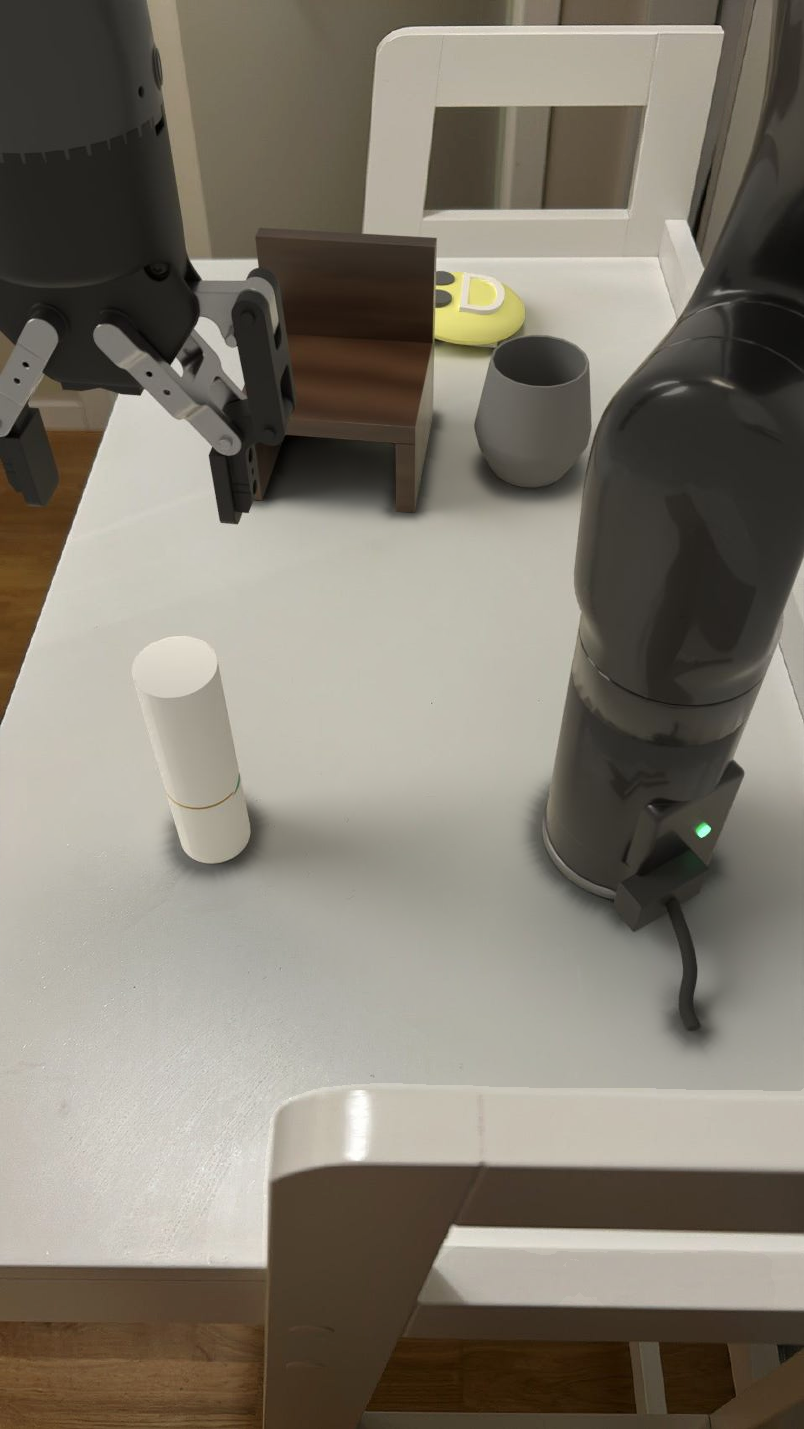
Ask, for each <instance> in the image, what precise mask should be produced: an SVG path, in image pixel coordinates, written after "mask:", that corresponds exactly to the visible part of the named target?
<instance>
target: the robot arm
mask: <svg viewBox="0 0 804 1429" xmlns="http://www.w3.org/2000/svg"><path fill="white" fill-rule="evenodd" d="M770 2H771V3H770V15H769V16H770V17H769V31H768V45H767V58H766V66H765V67H766V68H765V76H764V77H765V78H764V88H763V95H762V100H761V106H760V114H759V119H758V123H757V126H756V131H755V133H754V138H753V141H752V146H751V149H750V151H749V155H748V158H747V161H746V164H745V167H744V170H743V173H742V176H741V179H740V182H739V183H738V184H739V185H738V187H737V189H736V192H735V194H734V197H733V200H732V202H731V205H730V208H729V210H728V213H727V216H726V218H725V220H724V223H723V226H722V227H721V230H720V233H719V235H718V238H717V240H716V242H715V245H714V247H713V249H712V252H711V253H710V256H709V259H708V260H707V263H706V265H705V267H704V269H703V271H702V274H701V275H700V278H699V280H698V282H697V284H696V286H695V288H694V291H693V293H692V294H691V296H690V298H689V300H688V301H687V303H686V305H685V307H684V309H683V310H682V312H681V313H680V315H679V317H678V318H677V320H676V321H675V323H674V324H673V325H672V327H671V328H670V329H669V330H668V331H667V333H666V334H665V335H664V336H663V338H662V339H661V340H660V341H659V342H658V343H657V345H655V347H654V348H653V349H652V350H651V351H650V353H649V354H648V355H647V356H646V358H645V359H644V360H643V361H642V362H641V363H640V364H639V365H638V367H637V368H636V369H635V370H634V371H633V372H632V373H631V374H630V375H629V377H628V378H627V379H626V381H625V382H624V383H623V384H622V385H621V386H620V387H619V389H618V390H617V391H616V392H615V393H614V394H613V396H612V397H611V399H610V400H609V401H608V404H607V405H606V406H605V408H604V410H603V412H602V414H601V417H600V419H599V422H598V424H597V426H596V429H595V432H594V435H593V438H592V442H591V447H590V450H589V455H588V460H587V464H586V470H585V476H584V482H583V490H582V496H581V506H580V515H579V523H578V532H577V541H576V551H575V558H574V569H573V588H574V594H575V599H576V603H577V605H578V608H579V610H580V617H579V622H578V628H577V633H576V634H577V635H576V641H575V646H574V652H573V657H572V662H571V666H570V667H571V668H570V672H569V678H568V685H567V691H566V695H565V700H564V707H563V712H562V718H561V723H560V730H559V735H558V741H557V746H556V751H555V752H556V753H555V757H554V764H553V768H552V774H551V779H550V780H551V781H550V788H549V794H548V799H547V801H546V803H545V808H544V812H543V818H542V823H541V824H542V828H541V830H542V840H543V842H544V846H545V849H546V851H547V854H548V855H549V858H550V859H551V861H552V862H553V864H554V865H555V866H556V868H557V869H558V870H559V871H560V872H561V873H562V874H563V875H564V876H565V877H566V879H568V880H569V881H571V882H572V883H574V884H575V885H577V886H578V887H580V888H581V889H582V890H585V891H587V892H589V893H591V894H594V895H597V896H599V897H602V898H605V899H610V900H613V903H612V906H611V907H612V909H613V910H614V911H615V912H616V914H617V915H618V916H619V917H620V918H621V920H622V921H623V922H624V923H625V924H626V925H627V927H628V928H629V929H630V930H631V932H632V933H636V932H637V931H639V930H641V929H642V928H644V927H646V926H648V925H649V924H650V923H651V924H652V923H653V922H654V921H656V920H657V919H659V918H661V917H662V916H665V915H666V914H667V915H668V916H669V920H670V923H671V925H672V928H673V932H674V935H675V937H676V939H677V944H678V947H679V951H680V957H681V964H682V977H681V982H680V988H679V992H678V993H679V994H678V1007H679V1013H680V1016H681V1019H682V1021H683V1024H684V1026H685V1028H686V1031H687V1032H695V1031H697V1030H699V1029H701V1027H702V1025H701V1023H700V1020H699V1018H698V1016H697V1014H696V1011H695V1005H694V997H695V991H696V987H697V981H698V961H697V954H696V949H695V945H694V941H693V938H692V935H691V932H690V929H689V926H688V923H687V921H686V917H685V914H684V912H683V910H682V904H684V903H686V902H688V901H689V900H690V899H693V898H694V897H696V896H698V895H700V893H701V891H702V888H703V886H704V884H705V881H706V878H707V876H708V873H709V871H710V867H709V863H710V861H711V858H712V856H713V854H714V852H715V849H716V846H717V844H718V842H719V839H720V837H721V834H722V831H723V829H724V827H725V825H726V822H727V820H728V817H729V814H730V812H731V809H732V807H733V804H734V802H735V800H736V797H737V795H738V793H739V790H740V788H741V785H742V782H743V780H744V778H745V775H746V774H745V770H744V768H743V767H742V766H741V765H740V764H739V763H738V762H737V761H736V760H735V759H734V757H735V755H736V753H737V751H738V750H737V749H738V747H739V744H740V741H741V739H742V737H743V734H744V732H745V728H746V727H747V724H748V721H749V718H750V716H751V713H752V710H753V708H754V706H755V703H756V701H757V698H758V695H759V694H760V690H761V687H762V685H763V682H764V680H765V678H766V675H767V672H768V669H769V667H770V665H771V662H772V659H773V657H774V656H775V652H776V649H777V647H778V645H779V643H780V640H781V636H782V633H783V629H784V621H785V620H784V612H785V609H786V606H787V603H788V601H789V598H790V595H791V593H792V590H793V589H794V585H795V582H796V579H797V577H798V574H799V571H800V570H801V569H800V568H801V565H802V563H803V561H804V0H771V1H770ZM152 27H153V26H152V21H151V16H150V10H149V5H148V0H0V332H1V333H2V335H3V336H5V337H6V338H7V340H9V342H11V343H12V345H13V346H14V348H12V349H13V350H12V352H11V353H10V356H9V357H8V359H7V361H6V363H5V364H4V367H3V368H2V371H1V373H0V462H1V464H2V467H3V470H4V474H5V476H6V479H7V481H8V484H9V485H10V487H12V489H13V490H14V492H16V493H17V494H21V495H22V497H23V499H24V502H25V504H26V505H27V506H29V507H39V508H40V507H42V508H45V507H47V506H48V504H49V502H50V501H51V499H52V497H53V495H54V493H55V492H56V490H57V488H58V486H59V482H60V474H59V470H58V467H57V464H56V461H55V460H56V459H55V457H54V453H53V451H52V447H51V444H50V441H49V436H48V434H47V430H46V427H45V424H44V420H43V417H42V415H41V410H40V408H39V407H32V406H31V407H30V406H29V403H30V401H31V399H32V397H33V396H34V393H35V392H36V390H37V389H38V386H39V385H40V383H41V381H42V379H43V378H44V376H46V377H48V378H49V379H50V380H52V381H55V382H57V383H59V384H60V385H61V389H62V391H74V392H84V391H90V390H96V389H103V390H106V391H109V392H112V393H116V394H118V395H125V396H126V395H127V396H137V397H138V396H139V397H140V396H142V394H143V393H144V391H146V392H148V393H149V394H150V395H151V397H153V399H155V401H156V402H157V403H158V404H159V405H160V406H161V407H162V408H163V410H165V412H167V413H168V414H169V415H170V416H171V417H172V418H173V419H175V420H178V421H181V420H185V421H187V422H188V423H189V424H190V425H191V427H193V428H194V430H196V432H198V434H199V435H200V436H201V437H202V438H203V439H204V440H205V441H206V442H207V443H208V444H209V445H210V446H211V449H210V450H209V452H208V453H209V454H208V461H209V466H210V472H211V478H212V484H213V490H214V496H215V503H216V508H217V513H218V519H219V522H220V523H221V524H225V525H226V524H228V525H239V523H240V522H241V518H242V515H243V514H249V513H250V511H251V508H252V505H253V502H254V501H255V500H254V497H255V494H256V491H257V489H258V486H259V478H258V470H257V462H256V454H255V446H254V444H255V443H259V442H261V443H263V444H265V445H268V446H276V445H279V444H280V443H281V442H282V443H283V442H284V440H285V437H286V435H285V434H286V431H287V425H288V422H289V419H290V416H291V414H292V413H293V411H294V408H295V406H296V403H297V397H296V391H295V384H294V378H293V371H292V365H291V358H290V352H289V345H288V339H287V333H286V326H285V320H284V313H283V307H282V300H281V294H280V287H279V282H278V279H277V277H276V276H275V275H274V273H273V272H271V271H270V270H268V269H265V268H259V267H256V268H253V269H252V270H250V271H249V273H248V275H247V276H246V279H245V280H203V279H202V277H201V275H200V274H199V272H198V271H197V270H196V269H195V267H194V265H193V264H192V262H191V259H190V257H189V255H188V251H187V247H186V240H185V229H184V221H183V214H182V210H181V202H180V196H179V195H180V194H179V188H178V183H177V178H176V177H177V176H176V171H175V165H174V159H173V158H174V157H173V153H172V152H173V151H172V147H171V146H172V145H171V140H170V134H169V127H168V121H167V114H166V109H165V102H164V95H163V89H162V86H163V84H164V78H163V68H162V59H161V55H160V50H159V48H158V47H157V45H156V43H155V39H154V33H153V32H154V31H153V28H152ZM200 318H206V319H208V320H209V321H211V322H213V323H214V324H215V325H216V326H217V328H218V330H219V333H220V335H221V338H223V340H224V343H225V345H226V346H227V347H229V348H232V349H234V348H237V352H238V357H239V362H240V369H241V372H242V378H243V383H244V384H245V388H246V393H247V397H246V395H245V394H244V393H243V392H242V389H240V388H239V387H238V385H237V384H236V383H235V382H234V381H233V380H232V379H231V377H230V376H228V374H226V372H225V371H224V369H223V367H222V362H221V358H220V357H219V355H218V353H217V352H216V351H215V350H214V349H213V348H212V347H211V346H210V345H209V343H208V342H206V340H205V339H204V338H203V337H202V336H201V335H200V334H199V333H198V331H197V330H196V329H195V328H196V326H197V325H198V322H199V319H200ZM175 359H177V361H178V362H179V363H180V365H181V368H182V375H180V374H179V373H178V372H177V371H176V370H175V369H174V368H173V367H172V364H173V363H174V361H175Z"/></svg>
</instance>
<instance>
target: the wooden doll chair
mask: <svg viewBox="0 0 804 1429" xmlns="http://www.w3.org/2000/svg"><path fill="white" fill-rule="evenodd" d="M254 241H255V250H256V257H257V258H256V259H257V268H265V269H268V270H270V271H271V272H273V273H274V275H275V276H276V277H277V279H278V282H279V287H280V294H281V300H282V307H283V313H284V320H285V326H286V333H287V339H288V345H289V352H290V358H291V365H292V371H293V378H294V384H295V391H296V397H297V403H296V406H295V408H294V411H293V413H292V414H291V416H290V419H289V422H288V425H287V431H286V434H285V436H296V437H297V436H298V437H299V436H300V437H309V438H311V437H313V438H324V439H325V438H327V439H338V440H351V441H364V442H365V441H366V442H377V443H378V442H380V443H394V444H395V511H396V512H401V513H402V512H403V513H415V512H416V506H417V502H418V497H419V492H420V486H421V480H422V475H423V471H424V465H425V461H426V460H425V459H426V454H427V448H428V445H429V439H430V435H431V434H430V433H431V430H432V425H433V424H432V423H433V418H434V384H435V383H434V381H435V380H434V379H435V343H436V342H435V340H436V339H435V298H436V271H437V249H438V247H437V245H438V238H437V237H430V236H429V237H428V236H414V235H413V236H412V235H395V234H376V233H375V234H374V233H357V232H343V231H342V232H341V231H326V230H325V231H323V230H305V229H289V228H288V229H287V228H271V227H258V229H257V232H256V233H255V236H254ZM241 391H242V392H243V393H244V394H245V395H246V397H247V393H246V388H245V383H244V384H243V386H242V389H241ZM282 444H283V441H282V442H281V443H280V444H279V445H276V446H268V445H265V444H263V443H261V442H259V443H255V444H254V446H255V454H256V462H257V470H258V478H259V486H258V489H257V491H256V494H255V497H254V500H253V501H263V499H264V496H265V494H266V491H267V487H268V485H269V481H270V479H271V476H272V473H273V470H274V468H275V465H276V462H277V460H278V459H277V458H278V456H279V453H280V449H281V447H282Z"/></svg>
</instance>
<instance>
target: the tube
mask: <svg viewBox="0 0 804 1429" xmlns="http://www.w3.org/2000/svg"><path fill="white" fill-rule="evenodd" d="M219 666H220V665H219V661H218V657H217V653H216V651H215V650H214V649H213V647H212V646H211V645H210V644H208V642H206V641H204V640H201V639H199V638H197V637H193V636H189V635H174V636H168V637H163V638H161V639H157V640H156V641H153V642H151V643H150V644H148V645H146V646H145V647H144V648H142V650H140V652H138V654H137V655H136V656H135V658H134V660H133V663H132V666H131V676H132V680H133V684H134V688H135V690H136V694H137V696H138V700H139V704H140V708H141V711H142V714H143V717H144V721H145V725H146V729H147V732H148V735H149V739H150V743H151V746H152V749H153V752H154V757H155V760H156V763H157V766H158V770H159V773H160V777H161V780H162V783H163V787H164V790H165V794H166V798H167V800H168V803H169V808H170V811H171V814H172V817H173V821H174V824H175V829H176V831H177V835H178V838H179V841H180V842H179V843H180V845H181V848H182V849H183V851H184V853H186V855H187V856H188V857H190V859H192V860H195V861H197V862H199V863H203V864H220V863H224V862H227V861H229V860H231V859H234V858H235V857H237V856H238V855H239V854H240V853H241V852H243V850H244V849H245V848H246V846H247V845H248V843H249V841H250V838H251V833H252V832H251V822H250V819H249V813H248V808H247V803H246V799H245V798H246V797H245V792H244V787H243V783H242V778H241V773H240V767H239V763H238V756H237V753H236V748H235V742H234V737H233V732H232V728H231V720H230V716H229V711H228V707H227V701H226V695H225V691H224V686H223V681H222V675H221V671H220V667H219Z"/></svg>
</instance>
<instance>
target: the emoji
mask: <svg viewBox="0 0 804 1429" xmlns="http://www.w3.org/2000/svg"><path fill="white" fill-rule="evenodd" d="M525 319H526V307H525V305H524V302H523V300H522V299H521V297H520V296H519V295H518V294H517V293H516V292H515V291H514V289H512V288H511V287H509V286H508V285H507V284H504V283H503V282H501V281H499V280H498V279H496V278H494V277H492V276H488V275H484V274H479V273H473V272H466V271H445V270H436V298H435V340H439V341H443V342H446V343H450V344H455V345H465V346H468V347H469V346H470V347H477V348H491V349H493V348H494V349H495V348H496V347H498V343H499V342H500V341H502V340H505V339H507V338H510V337H511V336H513V335H514V334H515V333H517V332H518V331H519V329H520V328H521V327H522V325H523V324H524V322H525Z"/></svg>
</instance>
